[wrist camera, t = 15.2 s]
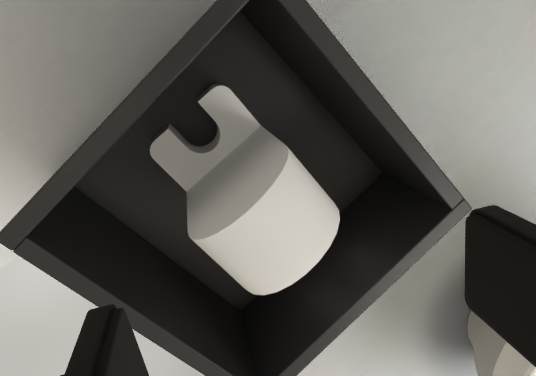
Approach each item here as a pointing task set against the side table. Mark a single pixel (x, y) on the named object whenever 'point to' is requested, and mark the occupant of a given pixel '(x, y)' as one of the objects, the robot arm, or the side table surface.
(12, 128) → the side table surface
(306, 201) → the cable organizer
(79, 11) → the side table surface
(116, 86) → the side table surface
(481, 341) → the bowl
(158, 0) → the side table surface
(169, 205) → the basket
